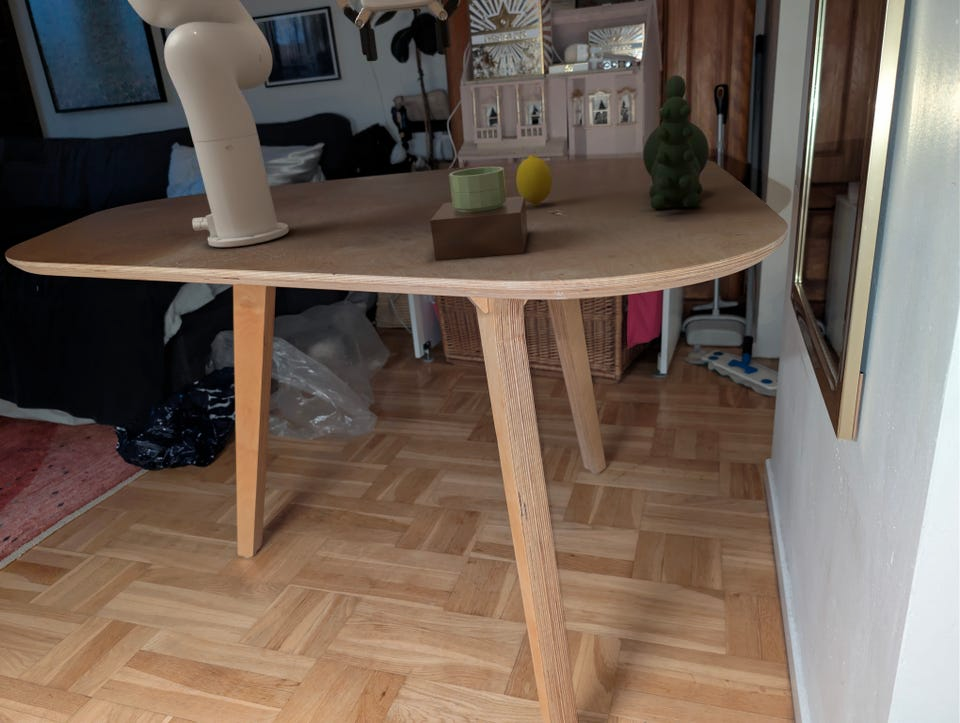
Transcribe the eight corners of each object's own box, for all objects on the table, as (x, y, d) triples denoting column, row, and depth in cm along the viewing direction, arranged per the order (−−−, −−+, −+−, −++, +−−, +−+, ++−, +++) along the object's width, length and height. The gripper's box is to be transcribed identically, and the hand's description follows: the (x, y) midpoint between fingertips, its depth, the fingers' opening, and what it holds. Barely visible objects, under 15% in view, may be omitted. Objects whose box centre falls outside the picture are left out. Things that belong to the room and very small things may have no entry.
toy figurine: (712, 231, 92) (706, 180, 113) (716, 77, 83) (708, 54, 104) (638, 234, 95) (646, 184, 116) (635, 86, 86) (643, 61, 107)
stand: (435, 260, 87) (429, 220, 85) (448, 239, 97) (443, 203, 95) (523, 253, 85) (520, 212, 83) (527, 232, 95) (524, 195, 93)
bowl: (450, 215, 86) (445, 178, 85) (457, 204, 93) (453, 169, 91) (504, 210, 86) (501, 172, 84) (508, 200, 92) (505, 164, 90)
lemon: (531, 202, 116) (527, 152, 113) (559, 203, 112) (556, 151, 109) (511, 209, 112) (507, 157, 109) (540, 210, 109) (536, 157, 105)
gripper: (463, -95, 89) (474, 52, 96) (333, -79, 92) (353, 63, 98) (454, -107, 82) (466, 52, 89) (313, -90, 85) (336, 63, 92)
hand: (407, 57), depth 94 cm, fingers open, 9 cm apart
